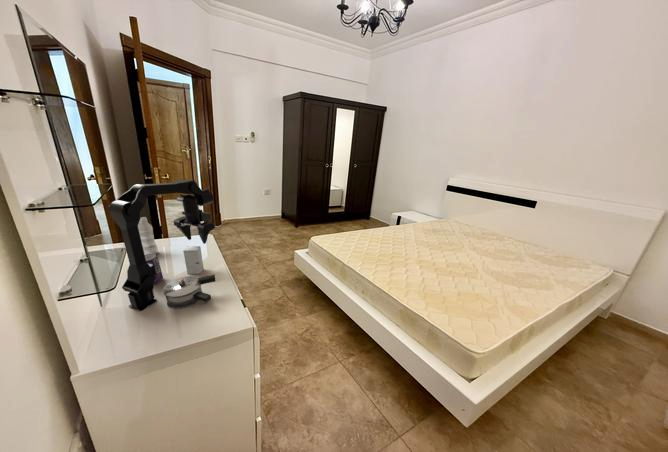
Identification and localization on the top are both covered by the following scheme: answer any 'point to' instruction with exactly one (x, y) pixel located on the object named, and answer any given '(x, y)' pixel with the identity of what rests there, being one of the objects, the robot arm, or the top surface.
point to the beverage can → (154, 261)
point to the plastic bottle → (147, 237)
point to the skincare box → (193, 259)
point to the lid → (186, 285)
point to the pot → (188, 300)
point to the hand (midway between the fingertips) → (197, 241)
